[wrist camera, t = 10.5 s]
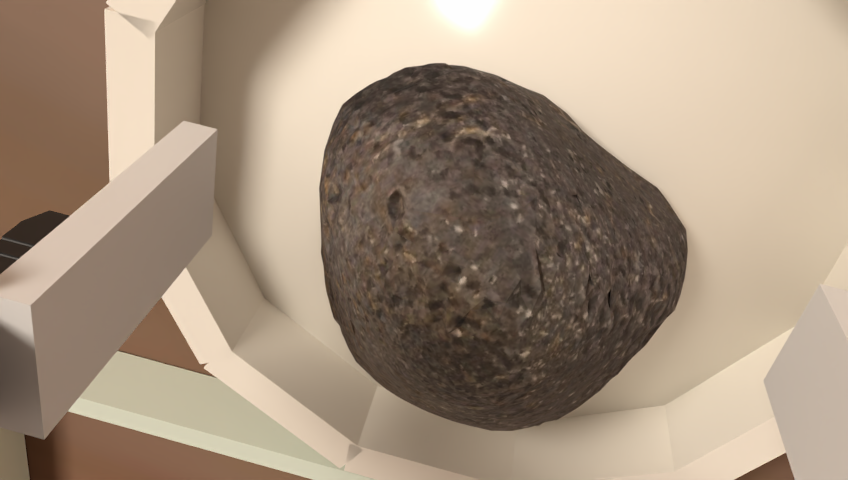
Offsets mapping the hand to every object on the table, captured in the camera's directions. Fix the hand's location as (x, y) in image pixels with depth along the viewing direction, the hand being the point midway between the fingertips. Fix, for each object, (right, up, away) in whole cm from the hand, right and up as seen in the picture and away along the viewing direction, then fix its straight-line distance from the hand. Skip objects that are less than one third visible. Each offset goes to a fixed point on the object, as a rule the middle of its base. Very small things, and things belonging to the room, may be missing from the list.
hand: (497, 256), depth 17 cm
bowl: (+1, +3, +4) cm, 5 cm away
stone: (0, +1, +5) cm, 5 cm away
